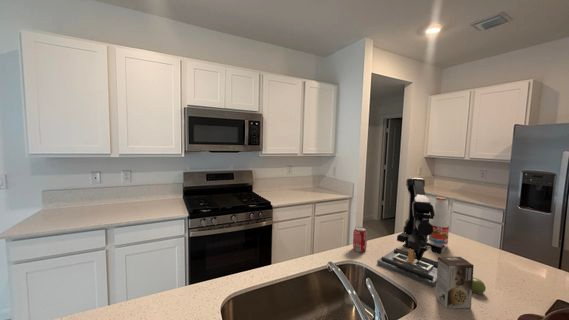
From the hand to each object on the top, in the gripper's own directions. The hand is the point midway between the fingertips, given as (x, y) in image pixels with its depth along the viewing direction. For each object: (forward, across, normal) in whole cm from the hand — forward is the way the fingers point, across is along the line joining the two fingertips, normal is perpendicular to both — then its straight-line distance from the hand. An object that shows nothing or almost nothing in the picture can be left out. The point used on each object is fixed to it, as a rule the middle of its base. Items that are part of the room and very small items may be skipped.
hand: (418, 260), depth 110 cm
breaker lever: (+2, -3, 0) cm, 4 cm away
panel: (+4, -3, 0) cm, 5 cm away
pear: (+5, +19, +1) cm, 20 cm away
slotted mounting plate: (+2, -3, 0) cm, 4 cm away
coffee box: (+5, +17, -15) cm, 23 cm away
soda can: (+5, -29, -3) cm, 29 cm away
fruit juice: (+5, -4, +40) cm, 40 cm away
